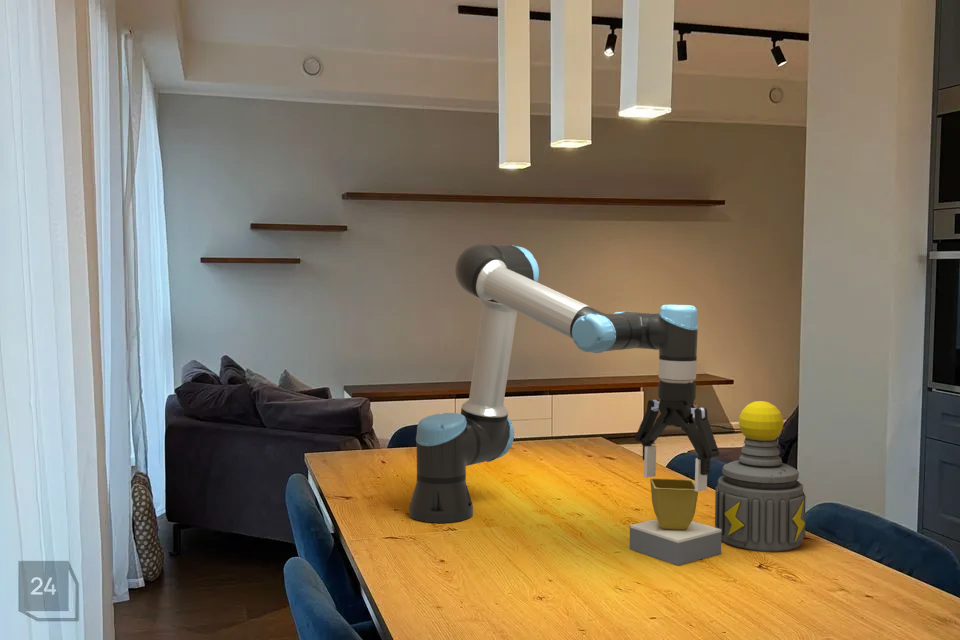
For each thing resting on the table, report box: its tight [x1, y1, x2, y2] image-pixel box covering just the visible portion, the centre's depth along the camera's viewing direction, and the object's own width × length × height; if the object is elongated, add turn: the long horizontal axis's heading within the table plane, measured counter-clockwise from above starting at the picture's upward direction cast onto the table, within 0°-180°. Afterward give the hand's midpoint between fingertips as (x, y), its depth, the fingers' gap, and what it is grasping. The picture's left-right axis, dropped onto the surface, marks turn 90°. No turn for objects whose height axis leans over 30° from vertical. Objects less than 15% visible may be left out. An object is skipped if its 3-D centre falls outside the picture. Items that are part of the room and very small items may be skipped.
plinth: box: [629, 518, 722, 566], centre depth 177 cm, size 13×13×5 cm
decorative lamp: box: [714, 400, 807, 553], centre depth 185 cm, size 19×19×30 cm
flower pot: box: [650, 478, 699, 530], centre depth 177 cm, size 9×9×9 cm
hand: (674, 483), depth 177 cm, fingers open, 13 cm apart
